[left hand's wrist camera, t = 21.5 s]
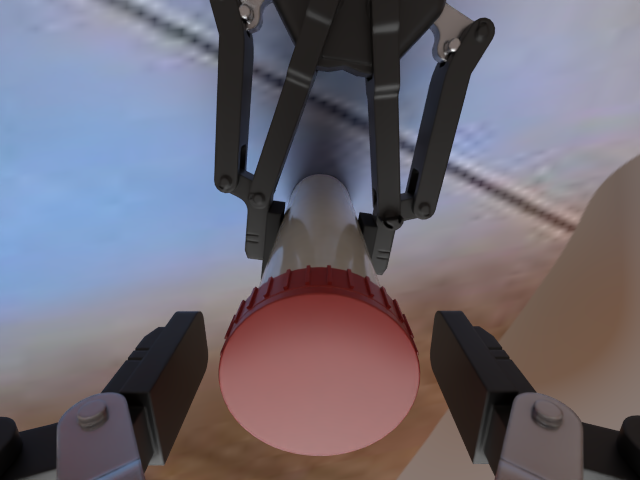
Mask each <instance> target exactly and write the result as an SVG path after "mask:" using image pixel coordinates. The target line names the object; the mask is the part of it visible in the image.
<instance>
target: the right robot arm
mask: <svg viewBox="0 0 640 480" xmlns="http://www.w3.org/2000/svg"><path fill="white" fill-rule="evenodd" d="M210 3H211V7H212V10H213V14H214V18H215V21H216V25H217V28H218V32H219V56H218V85H217V114H216V143H215V173H214V182H215V186H216V187H217V189H218V190H219V191H221V192H224V193H231V194H233V195H235V196H237V197H239V198H240V199H242V200H243V201H244V202H245V204H246V205H247V209H248V214H247V228H246V242H245V252H246V254H247V257H248V258H250V259H258V260H263V263H262V274H261V279H262V276H263V273H264V271H265V268H266V265H267V262H268V259H269V257H270V254H271V251H272V248H273V245H274V242H275V240H276V237H277V234H278V231H279V228H280V226H281V223H282V220H283V217H284V211H285V202H280V201H273V195H274V193H275V191H276V187H277V184H278V181H279V178H280V175H281V173H282V170H283V167H284V164H285V161H286V159H287V156H288V153H289V150H290V147H291V144H292V142H293V139H294V136H295V133H296V130H297V128H298V125H299V122H300V119H301V116H302V113H303V111H304V108H305V105H306V102H307V99H308V97H309V94H310V91H311V88H312V86H313V84H314V81H315V78H316V75H317V72H318V70H319V71H326V72H330V71H337V70H345V71H347V72H349V73H351V74H353V75H355V76H359V77H365V79H366V94H367V99H368V116H369V136H370V156H371V177H372V197H373V208H374V210H373V215H372V214H369V213H361V212H360V213H359V218H358V222H359V225H360V228H361V231H362V234H363V237H364V240H365V243H366V246H367V249H368V251H369V254H370V257H371V260H372V263H373V266H374V269H375V272H376V274H378V275H382V274H383V273H384V271H385V270H386V269H387V265H388V261H389V256H390V252H391V247H392V243H393V238H394V234H395V230H397V229H399V228H400V227H401V226H402V224H403V221H406V220H410V219H415V218H419V219H428V218H430V217H431V216H432V215H433V214H434V212H435V210H436V206H437V202H438V198H439V194H440V190H441V187H442V183H443V179H444V175H445V171H446V167H447V164H448V160H449V156H450V152H451V148H452V144H453V141H454V137H455V133H456V129H457V125H458V122H459V118H460V114H461V110H462V106H463V102H464V99H465V95H466V91H467V87H468V83H469V79H470V76H471V73H472V71H473V70H474V68H475V67H476V65H477V63H478V62H479V60H480V58H481V57H482V55H483V54H484V52H485V50H486V49H487V47H488V46H489V44H490V42H491V41H492V39H493V36H494V34H495V27H494V24H493V22H492V21H491V20H490V19H488V18H480V19H478V20H476V21H472V20H471V19H469V18H468V17H466V16H465V15H463V14H462V13H460V12H459V11H457V10H456V9H454V8H453V7H451V6H450V5H448V4H447V3H446V0H210ZM270 3H274V5H275V7H276V9H277V11H278V13H279V15H280V17H281V19H282V22H283V24H284V26H285V28H286V30H287V32H288V34H289V36H290V38H291V40H292V42H293V44H294V46H295V49H294V52H293V55H292V58H291V61H290V64H289V67H288V71H287V76H286V80H285V83H284V86H283V89H282V92H281V95H280V98H279V101H278V104H277V107H276V110H275V113H274V116H273V119H272V122H271V125H270V128H269V131H268V135H267V138H266V141H265V144H264V147H263V150H262V153H261V156H260V159H259V162H258V165H257V168H256V171H255V174H254V175H253V174H251V173H249V172H247V171H246V165H247V150H248V134H249V119H250V103H251V88H252V72H253V54H254V47H253V37H252V33H255V32H257V31H259V30H260V28H261V27H262V23H263V12H264V9H265V7H266V6H267V5H268V4H270ZM428 29H430V30H432V32H433V34H434V45H433V48H432V55H433V58H434V60H436V61H437V62H438V63H437V65H436V67H435V70H434V72H433V75H432V78H431V82H430V85H429V90H428V94H427V99H426V103H425V107H424V112H423V116H422V121H421V125H420V129H419V134H418V138H417V143H416V147H415V151H414V156H413V160H412V165H411V169H410V174H409V178H408V182H407V187H406V191H405V193H403V194H400V152H399V108H398V94H399V90H400V59H401V58H402V57H403V56H404V55H405V54H406V53H407V51H408V50H409V49H410V48H411V47H412V46H413V45H414V44H415V43H416V42H417V41H418V40H419V39H420V38H421V36H422V35H423V34H424V33H425V32H426V31H427V30H428Z"/></svg>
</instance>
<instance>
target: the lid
mask: <svg viewBox="0 0 640 480" xmlns="http://www.w3.org/2000/svg"><path fill="white" fill-rule="evenodd" d="M413 338H414V336H413V334H412V331H411V329H410V326H409V324H408V322H407V319H406V317H405V314H403V315H402V313H401V310H400V308H399V305H398V303H397V301H396V299H394V300H392V299H391V298H390V297H389V295H388V294H387V293H386V290H385V288H384V287H383V286H382V287H381V288H380V287H379V286H377V285H376V284H374V283H373V282H371V281H370V278H369V277H368V276H366V277H365V278H364V277H362V276H360V275H358V274H355V273H352V272H351V269H347V271H346V270H341V269H336V268H331V265H327V267H311V266H310V265H307V267H306V268H303V269H297V270H293V271H291V269H288V270H287V271H286V273H284V274H281V275H279V276H277V277H274V278H273V277H272V276H271V277H269V278H268V281H267V282H266V283H264V284H263V285H262V286H260V287H259V288H257V287H255V288H254V289H253V291H252V294H251V295H250V296H249V297H248V299H247V300H246V301H244V300H243V301H242V302H241V304H240V307H239V309H238V311H237V314H236V315H234V317H233V319H232V321H231V324H230V326H229V328H228V331H227V333H226V335H225V338H224V339H226V341H225V343H224V345H223V348H222V350H221V353H220V356H221V358H220V364H219V383H220V389H221V393H222V396H223V399H224V401H225V403H226V405H227V407H228V409H229V411H230V412H231V414H232V415H233V416H234V418H235V419H236V420H237V421H238V423H239V424H240V425H241V426H242V427H243V428H244V429H246V430H247V431H248V432H249V433H250V434H252V435H253V436H255V437H256V438H258V439H259V440H261V441H263V442H265V443H267V444H269V445H271V446H273V447H275V448H278V449H281V450H284V451H288V452H291V453H296V454H302V455H312V456H329V455H337V454H343V453H348V452H352V451H355V450H358V449H361V448H364V447H366V446H368V445H371V444H373V443H375V442H376V441H378V440H380V439H381V438H383V437H385V436H386V435H387V434H389V433H390V432H391V431H392V430H394V429H395V428H396V427H397V426H398V425H399V424H400V423H401V422H402V420H403V419H404V418H405V416H406V415H407V414H408V412H409V410H410V409H411V407H412V405H413V403H414V401H415V398H416V396H417V392H418V388H419V383H420V366H419V360H418V356H417V355H419V354H418V350H417V348H416V345H415V343H414V340H413Z"/></svg>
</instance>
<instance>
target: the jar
mask: <svg viewBox="0 0 640 480" xmlns="http://www.w3.org/2000/svg"><path fill="white" fill-rule="evenodd" d="M307 265H310V266H311V267H327V265H331V268H336V269H341V270H346V271H347V269H351V272H352V273H355V274H358V275H360V276H362V277H364V278H365V277H366V276H368V277H369V278H370V281H371V282H373V283H374V284H376V285H377V286H379V287H380V284H379V281H378V278H377V275H376V272H375V269H374V266H373V263H372V260H371V257H370V254H369V251H368V249H367V246H366V243H365V240H364V237H363V234H362V231H361V228H360V225H359V222H358V219H357V216H356V214H355V211H354V208H353V205H352V202H351V199H350V196H349V193H348V191H347V189H346V187H345V186H344V185H343V184H342V183H341V182H340V181H339V180H338V179H336V178H334V177H332V176H330V175H325V174H315V175H311V176H308V177H306V178H304V179H303V180H301V181H300V182H299V183H298V184H297V185H296V187H295V188H294V190H293V192H292V195H291V197H290V200H289V203H288V206H287V209H286V212H285V214H284V217H283V220H282V223H281V226H280V228H279V231H278V234H277V237H276V240H275V242H274V245H273V248H272V251H271V254H270V257H269V259H268V262H267V265H266V268H265V271H264V273H263V276H262V279H261V282H260V285H259V287H260V286H262V285H263V284H264V283H266V282H267V281H268V278H269V277H271V276H272V277H273V278H274V277H277V276H279V275H281V274H284V273H286V271H287V270H288V269H291V271H293V270H297V269H303V268H306V267H307ZM259 287H258V288H259ZM380 288H381V287H380Z"/></svg>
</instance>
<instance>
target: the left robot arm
mask: <svg viewBox="0 0 640 480" xmlns="http://www.w3.org/2000/svg"><path fill="white" fill-rule="evenodd" d="M430 360H431V366H432V370H433V372H434V375H435V377H436V379H437V382H438V384H439V386H440V389H441V391H442V393H443V396H444V398H445V400H446V402H447V405H448V407H449V409H450V412H451V414H452V416H453V419H454V421H455V423H456V425H457V428H458V430H459V432H460V435H461V437H462V439H463V442H464V444H465V446H466V449H467V451H468V453H469V456H470V458H471V460H472V462H473V464H489V465H490V467H491V469H492V471H493V473H494V475H495V480H640V416H630V417H628V418H626V419H625V420H624V421H623V424H622V426H621V429H620V431H616V430H612V429H608V428H604V427H600V426H595V425H591V424H587V423H583V422H581V420H580V419H579V417H578V416H577V415H576V413H575V412H574V411H573V410H571V409H570V408H569V407H568V406H566V405H565V404H563V403H562V402H560V401H558V400H557V399H554V398H552V397H550V396H547V395H544V394H540V393H537V392H536V391H535V390H534V388H533V387H532V386H531V385H530V383H529V382H528V381H527V379H526V378H525V377H524V375H523V374H522V373H521V372H520V370H519V369H518V368H517V366H516V365H515V364H514V362H513V361H512V360H510V359H509V356H508V355H507V353H506V352H505V351H504V350H502V347H501V345H500V344H499V343H498V342H497V340H496V339H495V338H494V336H492V335H491V334H489V333H488V332H487V331H485V330H484V329H482V328H481V327H479V326H472V325H471V323H470V322H469V320H468V319H467V317H466V316H465V315H464V313H463V312H462V311H437V312H436V314H435V318H434V326H433V333H432V341H431V349H430ZM207 362H208V348H207V340H206V333H205V325H204V318H203V314H202V312H200V311H178V312H176V313H175V314H174V315H173V317H172V318H171V319H170V321H169V322H168V324H167V325H166V326H165V327H158V328H157V329H155V330H154V331H152V332H151V333H149V334H148V335H146V336H145V337H144V338H143V339H142V341H141V342H140V343H139V344H138V346H137V347H136V348H135V351H133V352H132V354H131V355H130V356H129V357H128V360H126V361H125V363H124V364H123V365H122V366H121V368H120V369H119V370H118V372H117V373H116V374H115V375H114V377H113V378H112V379H111V381H110V382H109V383H108V384H107V386H106V387H105V388H104V390H103V391H102V392H101V393H100V394H96V395H93V396H90V397H88V398H85V399H83V400H82V401H80V402H78V403H77V404H75V405H74V406H72V407H71V408H70V409H69V410H67V411H66V412H65V413H64V415H63V416H62V417H61V419H60V420H59V422H58V423H54V424H51V425H47V426H43V427H38V428H34V429H30V430H26V431H22V432H19V431H18V429H17V426H16V424H15V422H14V421H13V420H12V419H10V418H7V417H0V480H145V476H144V473H145V471H146V469H147V467H148V465H165V462H166V460H167V458H168V456H169V453H170V451H171V449H172V446H173V444H174V442H175V440H176V437H177V435H178V433H179V430H180V428H181V426H182V424H183V421H184V419H185V417H186V415H187V412H188V410H189V408H190V405H191V403H192V401H193V399H194V396H195V394H196V392H197V389H198V387H199V385H200V383H201V380H202V378H203V376H204V374H205V371H206V368H207Z"/></svg>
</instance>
